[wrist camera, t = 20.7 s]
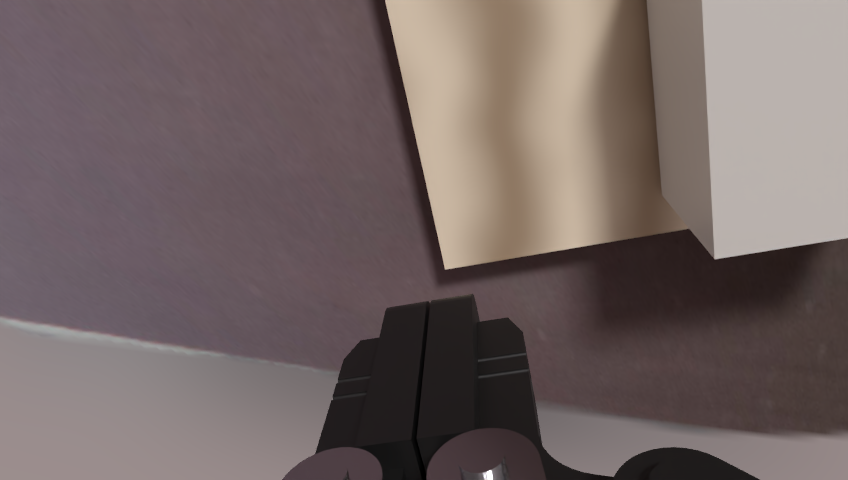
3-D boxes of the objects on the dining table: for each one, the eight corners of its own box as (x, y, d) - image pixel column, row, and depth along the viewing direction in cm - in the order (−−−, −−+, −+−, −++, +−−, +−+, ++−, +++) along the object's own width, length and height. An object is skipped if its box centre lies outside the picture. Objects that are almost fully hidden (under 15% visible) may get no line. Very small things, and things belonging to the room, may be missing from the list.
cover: (661, 195, 29) (714, 259, 23) (640, -70, 25) (698, -79, 19) (901, 153, 28) (1025, 209, 22) (921, -134, 24) (1080, -166, 18)
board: (446, 252, 34) (442, 316, 28) (376, -62, 28) (353, -67, 22) (861, 181, 31) (956, 235, 25) (877, -182, 25) (1004, -225, 19)
